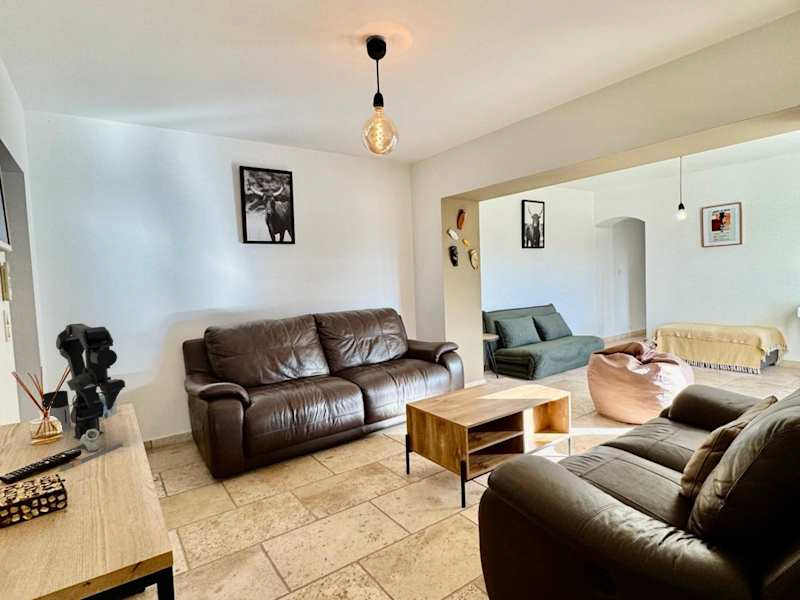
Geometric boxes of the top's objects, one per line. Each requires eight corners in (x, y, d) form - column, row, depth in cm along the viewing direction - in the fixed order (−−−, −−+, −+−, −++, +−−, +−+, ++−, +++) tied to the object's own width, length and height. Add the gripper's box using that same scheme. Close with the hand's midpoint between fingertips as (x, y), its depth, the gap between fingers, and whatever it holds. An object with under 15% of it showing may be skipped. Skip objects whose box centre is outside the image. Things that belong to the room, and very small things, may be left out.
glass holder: (49, 430, 158) (46, 391, 157) (93, 424, 162) (90, 387, 161) (37, 438, 149) (34, 397, 148) (83, 432, 153) (80, 393, 153)
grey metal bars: (93, 443, 142) (93, 438, 142) (123, 446, 138) (123, 441, 138) (31, 468, 124) (30, 463, 124) (63, 472, 120) (63, 467, 120)
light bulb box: (100, 421, 165) (98, 395, 165) (83, 422, 165) (81, 396, 164) (118, 413, 176) (116, 388, 175) (102, 413, 176) (100, 389, 175)
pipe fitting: (103, 447, 135) (98, 427, 136) (88, 451, 132) (84, 431, 133) (96, 452, 139) (91, 433, 141) (82, 456, 136) (78, 437, 138)
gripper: (52, 367, 135) (55, 414, 136) (90, 370, 129) (94, 418, 130) (87, 361, 146) (90, 404, 147) (124, 363, 139) (127, 407, 140)
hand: (100, 408), depth 141 cm, fingers open, 9 cm apart
